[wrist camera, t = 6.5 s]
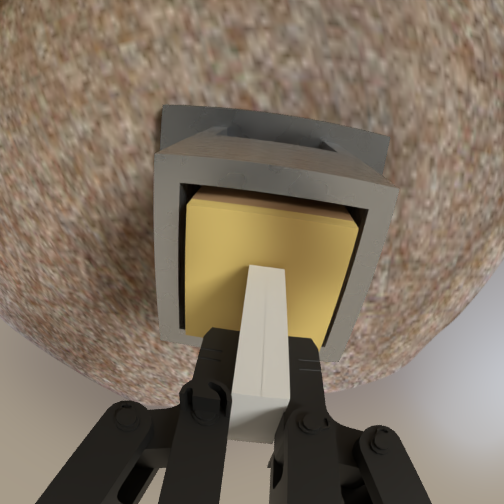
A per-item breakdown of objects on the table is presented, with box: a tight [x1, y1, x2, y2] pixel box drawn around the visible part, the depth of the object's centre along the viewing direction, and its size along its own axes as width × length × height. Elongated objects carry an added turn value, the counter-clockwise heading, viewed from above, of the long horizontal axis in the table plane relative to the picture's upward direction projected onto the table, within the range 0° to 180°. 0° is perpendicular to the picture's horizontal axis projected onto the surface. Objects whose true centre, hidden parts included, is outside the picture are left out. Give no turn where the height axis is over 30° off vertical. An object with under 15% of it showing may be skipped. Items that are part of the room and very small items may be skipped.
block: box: [185, 185, 359, 351], centre depth 20 cm, size 7×7×14 cm
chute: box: [154, 105, 399, 362], centre depth 21 cm, size 20×14×15 cm
